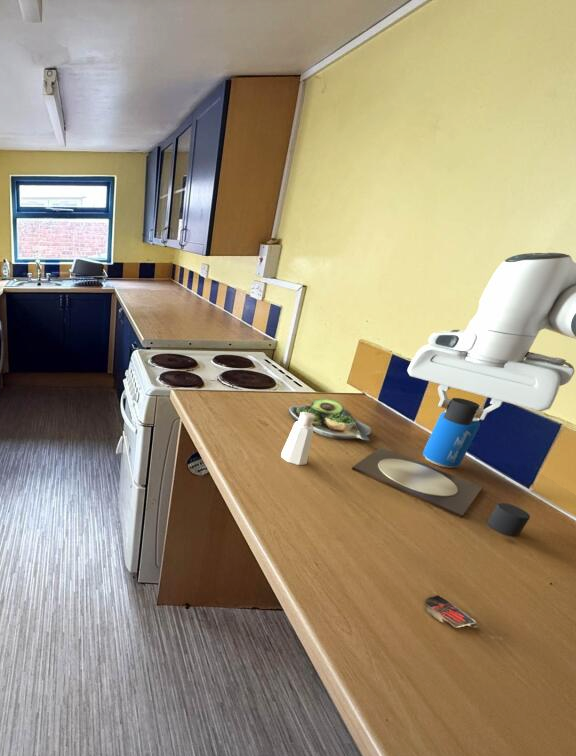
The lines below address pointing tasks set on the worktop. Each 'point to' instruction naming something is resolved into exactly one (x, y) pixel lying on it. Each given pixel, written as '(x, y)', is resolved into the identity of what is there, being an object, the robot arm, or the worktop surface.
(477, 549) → the worktop surface
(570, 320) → the robot arm
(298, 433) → the pepper shaker
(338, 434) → the salad plate
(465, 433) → the beverage can
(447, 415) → the dot left
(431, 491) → the board
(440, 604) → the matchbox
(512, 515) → the dot right
